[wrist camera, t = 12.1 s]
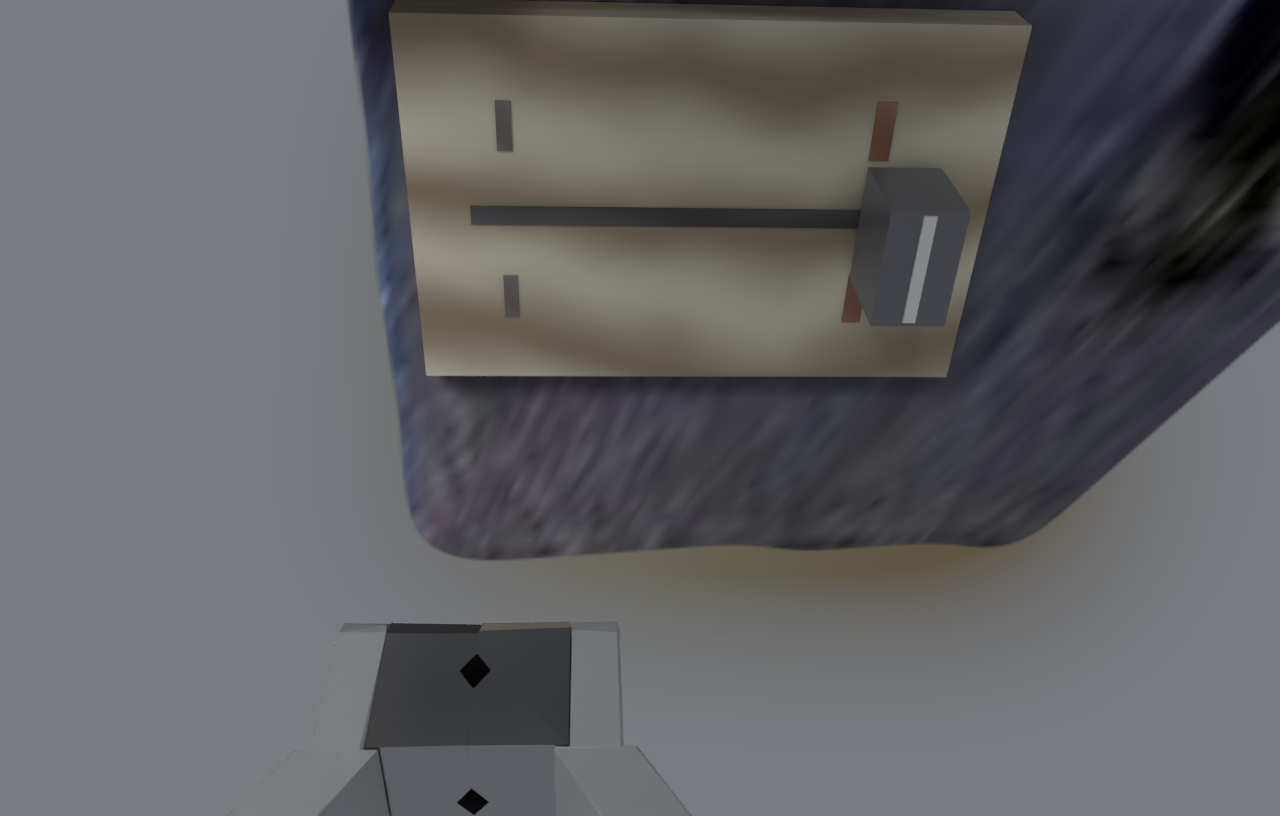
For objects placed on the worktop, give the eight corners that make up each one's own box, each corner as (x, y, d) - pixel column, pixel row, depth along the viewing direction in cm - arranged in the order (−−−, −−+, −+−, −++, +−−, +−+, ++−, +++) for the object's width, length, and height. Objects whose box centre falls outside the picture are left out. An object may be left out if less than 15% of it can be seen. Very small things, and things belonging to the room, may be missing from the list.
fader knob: (868, 167, 42) (892, 211, 39) (941, 168, 42) (972, 212, 39) (849, 277, 45) (870, 327, 42) (918, 277, 45) (944, 327, 42)
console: (396, -3, 40) (388, 13, 38) (1014, 11, 41) (1033, 26, 40) (431, 351, 49) (426, 377, 48) (934, 353, 51) (947, 378, 49)
